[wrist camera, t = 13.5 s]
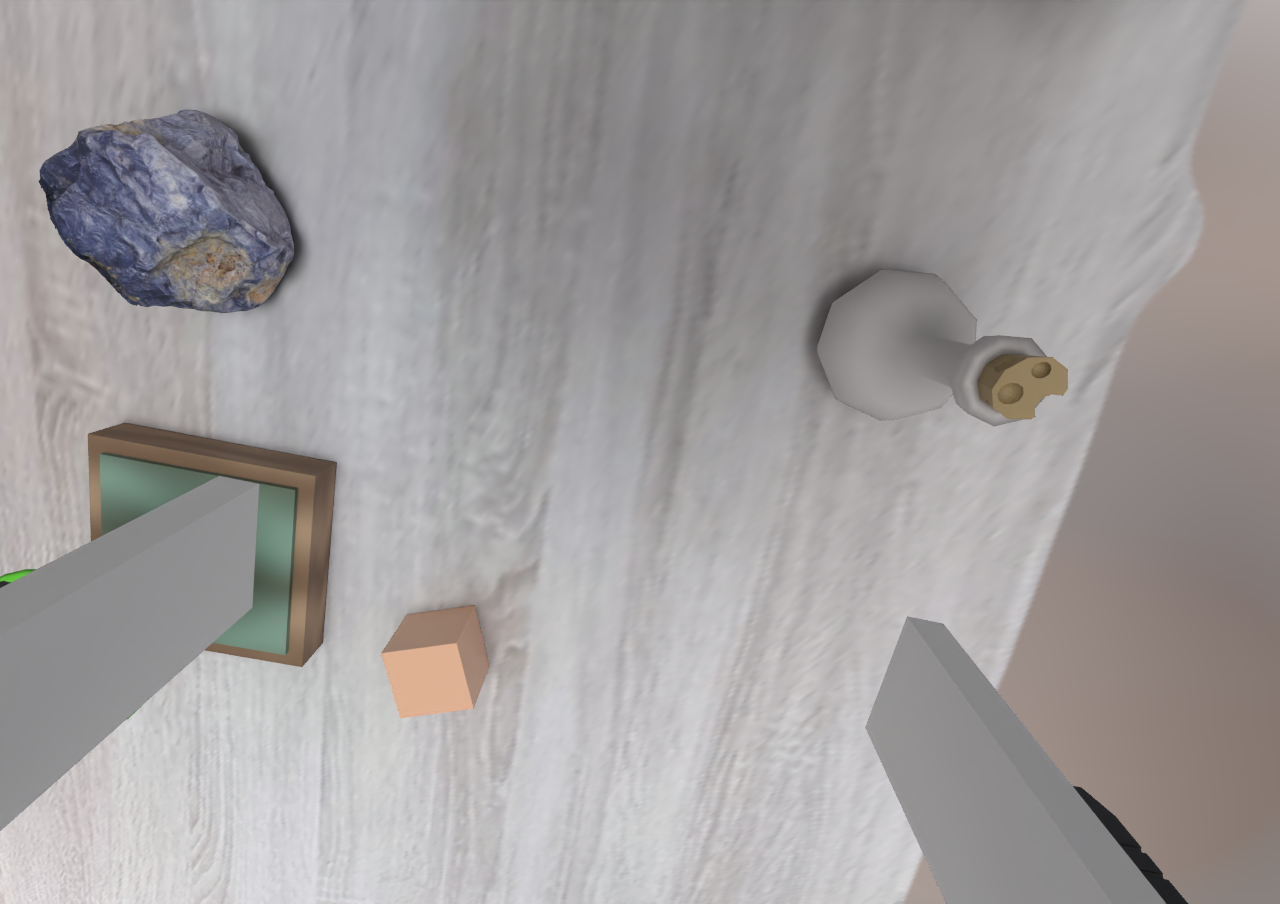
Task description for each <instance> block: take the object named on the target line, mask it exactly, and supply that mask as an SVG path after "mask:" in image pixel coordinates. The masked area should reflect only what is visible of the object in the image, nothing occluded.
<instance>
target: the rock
mask: <svg viewBox="0 0 1280 904" xmlns="http://www.w3.org/2000/svg"><path fill="white" fill-rule="evenodd" d="M39 183H40V185H41V188H43V190H44V192H45V193H46V198H47V206H48V210H49V214H50V219H51V220H52V222H53V224H54V225H55V229H57V230H58V233H59V235H60V236H61V238H62V240H63V241H64V243H65V244H66V245H67V246H68V247H69V248H70V249H71V250H72V252H73V253H74V254H75V255H76V256H78V257H79V258H80V259H82V260H85V261H86V262H88V263H90V264H91V265H92V266H93V267H94V268H96V269H97V270H98V271H99V272H100V274H101V275H102V276H104V277H105V278H106V280H107V281H108V282H110V284H111V285H112V286H113V287H114V288H115V290H116V291H117V292H118V293H120V294H121V296H122V297H123V298H125V299H126V300H127V301H128V302H129V303H130V304H132V305H136V306H137V305H140V306H144V307H149V306H155V305H156V306H163V307H165V306H174V307H178V308H188V309H196V310H200V311H212V312H220V313H229V312H236V311H247V310H250V309H253V308H256V307H259V306H260V305H262V304H263V303H264V302H266V301H267V300H268V299H269V298H270V296H271V295H272V293H273V292H274V290H275V287H276V286H277V285H278V284H279V282H280V281H281V279H282V278H283V276H284V274H285V271H286V269H287V267H288V265H289V263H290V262H291V261H292V260H293V257H294V243H293V239H292V236H291V228H290V224H289V220H288V218H287V216H286V214H285V211H284V209H283V208H282V206H281V204H280V203H279V201H278V200H277V198H276V197H275V195H274V191H273V190H271V189H270V188H268V187H267V186H266V184H265V182H264V181H263V179H262V176H261V174H260V172H259V170H258V168H257V167H256V166H255V165H254V163H252V160H251V158H250V155H249V153H246V152H244V150H243V149H242V147H241V146H240V144H239V142H238V135H237V134H236V133H235V132H234V131H233V130H232V129H231V128H228V127H226V126H225V125H224V124H223V123H222V122H221V121H219V120H217V119H216V118H214V117H212V116H210V115H208V114H206V113H204V112H200V111H195V110H181V111H180V112H179V113H178V114H173V115H169V116H165V117H161V118H155V119H144V120H135V121H131V122H124V123H122V124H119V125H112V124H108V125H101V126H96V127H92V128H88V129H85V130H82V131H80V132H78V136H77V138H76V140H75V141H74V142H73V144H72V145H71V146H70V147H68V148H67V149H65V150H63V151H60V152H58V153H56V154H55V155H53V156H52V157H51V158H49V159H48V160H46V161H45V162H44V163H43V165H42V167H41V169H40V180H39Z"/></svg>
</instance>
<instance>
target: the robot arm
mask: <svg viewBox="0 0 1280 904" xmlns="http://www.w3.org/2000/svg"><path fill="white" fill-rule="evenodd" d="M258 497H259V484H257V483H252V482H247V481H242V480H237V479H233V478H228V477H223V476H218V477H216V478H214V479H212V480H210V481H208V482H206V483H204V484H203V485H201V486H199V487H197V488H195V489H193V490H191V491H189V492H187V493H185V494H183V495H181V496H179V497H177V498H175V499H173V500H171V501H169V502H167V503H165V504H163V505H162V506H160V507H158V508H156V509H154V510H152V511H150V512H148V513H146V514H144V515H142V516H140V517H138V518H136V519H134V520H132V521H130V522H128V523H126V524H124V525H122V526H121V527H119V528H117V529H115V530H113V531H111V532H109V533H107V534H105V535H103V536H101V537H99V538H97V539H95V540H93V541H91V542H89V543H87V544H85V545H83V546H82V547H80V548H78V549H76V550H74V551H72V552H70V553H68V554H66V555H64V556H62V557H60V558H58V559H56V560H54V561H52V562H50V563H48V564H46V565H44V566H42V567H41V568H39V569H37V570H35V571H33V572H31V573H29V574H27V575H25V576H23V577H21V578H19V579H17V580H15V581H13V582H7V581H1V582H0V831H1V830H2V829H3V828H4V827H5V826H7V825H8V824H9V823H10V822H11V821H12V820H13V819H14V818H16V817H17V816H18V815H19V814H20V813H21V812H22V811H23V810H25V809H26V808H27V807H28V806H29V805H30V804H31V803H32V802H34V801H35V800H36V799H37V798H38V797H39V796H40V795H41V794H43V793H44V792H45V791H46V790H47V789H48V788H49V787H51V786H52V785H53V784H54V783H55V782H56V781H57V780H58V779H60V778H61V777H62V776H63V775H64V774H65V773H66V772H67V771H69V770H70V769H71V768H72V767H73V766H74V765H75V764H76V763H78V762H79V761H80V760H81V759H82V758H83V757H84V756H85V755H87V754H88V753H89V752H90V751H91V750H92V749H93V748H95V747H96V746H97V745H98V744H99V743H100V742H101V741H102V740H104V739H105V738H106V737H107V736H108V735H109V734H110V733H111V732H113V731H114V730H115V729H116V728H117V727H118V726H119V725H120V724H122V723H123V722H124V721H125V720H126V719H127V718H128V717H129V716H131V715H132V714H133V713H134V712H135V711H136V710H137V709H139V708H140V707H141V706H142V705H143V704H144V703H145V702H146V701H148V700H149V699H150V698H151V697H152V696H153V695H154V694H155V693H157V692H158V691H159V690H160V689H161V688H162V687H163V686H164V685H166V684H167V683H168V682H169V681H170V680H171V679H172V678H173V677H175V676H176V675H177V674H178V673H179V672H180V671H181V670H183V669H184V668H185V667H186V666H187V665H188V664H189V663H190V662H192V661H193V660H194V659H195V658H196V657H197V656H198V655H199V654H201V653H202V652H203V651H204V650H205V649H206V648H207V647H208V646H210V645H211V644H212V643H213V642H214V641H215V640H216V639H217V638H219V637H220V636H221V635H222V634H223V633H224V632H225V631H227V630H228V629H229V628H230V627H231V626H232V625H233V624H234V623H236V622H237V621H238V620H239V619H240V618H241V617H242V616H243V615H245V614H246V613H247V612H248V611H249V610H250V609H251V608H252V605H253V587H254V569H255V551H256V533H257V515H258ZM866 730H867V732H868V734H869V736H870V738H871V741H872V743H873V745H874V747H875V749H876V752H877V754H878V756H879V758H880V760H881V762H882V765H883V767H884V769H885V771H886V773H887V776H888V778H889V780H890V782H891V784H892V787H893V789H894V791H895V793H896V795H897V797H898V800H899V802H900V804H901V806H902V808H903V811H904V813H905V815H906V817H907V819H908V822H909V824H910V826H911V828H912V830H913V832H914V835H915V837H916V839H917V841H918V843H919V846H920V848H921V850H922V852H923V854H924V857H925V859H926V861H927V863H928V865H929V867H930V870H931V872H932V874H933V876H934V878H935V880H936V883H937V885H938V887H939V889H940V891H941V894H942V896H943V898H944V900H945V902H946V904H1188V903H1187V902H1186V901H1185V899H1184V898H1183V897H1182V896H1181V895H1180V893H1179V892H1178V891H1177V890H1176V889H1175V887H1174V886H1173V885H1172V884H1171V883H1170V881H1169V880H1165V879H1163V876H1162V875H1163V873H1162V872H1161V871H1160V869H1159V868H1158V867H1157V866H1156V865H1155V863H1154V862H1153V861H1152V860H1151V858H1150V857H1149V856H1148V855H1147V854H1146V853H1142V852H1141V846H1140V845H1139V844H1138V843H1137V842H1136V840H1135V839H1134V838H1133V837H1132V836H1131V834H1130V833H1129V832H1128V831H1127V830H1126V828H1125V827H1124V826H1123V825H1122V824H1121V822H1120V821H1119V820H1118V819H1117V818H1116V816H1114V815H1113V814H1112V813H1111V812H1110V811H1109V810H1107V809H1106V808H1105V807H1104V806H1103V805H1101V804H1100V803H1099V802H1098V801H1097V800H1095V799H1094V798H1093V797H1092V796H1091V795H1090V794H1088V793H1087V792H1086V791H1085V790H1084V789H1082V788H1080V787H1075V786H1072V785H1071V784H1070V782H1069V781H1068V780H1067V779H1066V777H1065V776H1064V775H1063V774H1062V772H1061V771H1060V770H1059V768H1058V767H1057V766H1056V765H1055V763H1054V762H1053V761H1052V760H1051V759H1050V757H1049V756H1048V755H1047V753H1046V752H1045V751H1044V750H1043V748H1042V747H1041V746H1040V745H1039V743H1038V742H1037V741H1036V740H1035V738H1034V737H1033V736H1032V735H1031V734H1030V732H1029V731H1028V730H1027V728H1026V727H1025V726H1024V725H1023V723H1022V722H1021V721H1020V720H1019V718H1018V717H1017V716H1016V714H1015V713H1014V712H1013V711H1012V709H1011V708H1010V707H1009V706H1008V704H1007V703H1006V702H1005V701H1004V700H1003V698H1002V697H1001V696H1000V694H999V693H998V692H997V691H996V689H995V688H994V687H993V686H992V684H991V683H990V682H989V681H988V679H987V678H986V677H985V676H984V674H983V673H982V672H981V671H980V669H979V668H978V667H977V666H976V664H975V663H974V662H973V661H972V659H971V658H970V657H969V656H968V654H967V653H966V652H965V650H964V649H963V648H962V647H961V645H960V644H959V643H958V642H957V640H956V639H955V638H954V637H953V635H952V634H951V633H950V632H949V630H948V629H947V628H946V627H945V625H944V624H942V623H937V622H932V621H927V620H922V619H917V618H912V617H908V616H907V618H906V621H905V624H904V626H903V629H902V632H901V634H900V637H899V640H898V642H897V645H896V648H895V650H894V653H893V656H892V658H891V661H890V664H889V666H888V669H887V672H886V674H885V677H884V680H883V682H882V685H881V688H880V690H879V693H878V696H877V698H876V701H875V703H874V706H873V709H872V711H871V714H870V717H869V719H868V722H867V725H866Z"/></svg>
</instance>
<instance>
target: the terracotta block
mask: <svg viewBox="0 0 1280 904" xmlns="http://www.w3.org/2000/svg"><path fill="white" fill-rule="evenodd" d="M381 654H382V658H383V661H384V664H385V668H386V671H387V675H388V678H389V681H390V685H391V688H392V692H393V695H394V698H395V702H396V705H397V708H398V712H399V715H400V718H406V717H413V716H421V715H429V714H436V713H444V712H452V711H459V710H467V709H474V706H475V703H476V701H477V698H478V695H479V693H480V690H481V687H482V685H483V682H484V679H485V677H486V674H487V671H488V669H489V666H490V665H489V661H488V657H487V653H486V649H485V644H484V640H483V636H482V632H481V628H480V624H479V620H478V616H477V612H476V608H475V605H473V606H466V607H458V608H451V609H444V610H437V611H429V612H422V613H415V614H407V615H406V617H405V618H404V620H403V621H402V623H401V624H400V626H399V627H398V629H397V630H396V632H395V633H394V635H393V636H392V638H391V639H390V641H389V642H388V644H387V645H386V647H385V648H384V650H383V651H382V653H381Z"/></svg>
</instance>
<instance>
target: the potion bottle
mask: <svg viewBox="0 0 1280 904" xmlns="http://www.w3.org/2000/svg"><path fill="white" fill-rule="evenodd" d="M976 323H977V319H976V318H975V317H974V316H973V314H972V313H971V312H970V311H969V310H968V308H967V307H966V306H965V305H964V304H963V303H962V301H961V300H960V299H959V298H958V297H957V295H956V294H955V293H954V292H953V291H952V290H951V288H950V287H949V286H948V285H947V284H946V283H945V282H944V281H943V280H942V279H940V278H939V277H938V276H937V275H936V274H928V273H917V272H906V271H896V270H885V269H881V270H880V271H878V272H877V273H876V274H874V275H873V276H871V277H870V278H868V279H867V280H865V281H864V282H862V283H861V284H859V285H858V286H856V287H855V288H853V289H852V290H850V291H849V292H847V293H846V294H844V295H843V296H842V297H840V298H839V299H837V300H836V301H834V302H833V303H832V305H831V308H830V311H829V313H828V316H827V319H826V322H825V325H824V328H823V331H822V334H821V337H820V340H819V343H818V346H817V353H818V355H819V358H820V361H821V363H822V366H823V368H824V371H825V373H826V376H827V378H828V381H829V384H830V386H831V389H832V391H833V394H834V396H835V399H836V400H838V401H840V402H843V403H845V404H847V405H849V406H851V407H853V408H855V409H857V410H859V411H861V412H863V413H866V414H868V415H870V416H872V417H874V418H876V419H878V420H895V419H899V418H903V417H907V416H911V415H915V414H919V413H923V412H927V411H931V410H935V409H939V408H941V407H942V406H943V405H944V404H945V403H946V402H947V400H948V399H949V398H950V397H951V396H952V394H953V395H954V398H955V401H956V404H957V405H959V406H960V407H961V408H962V409H963V410H964V411H965V412H967V413H968V414H970V415H972V416H974V417H976V418H978V419H980V420H982V421H984V422H986V423H988V424H990V425H992V426H998V425H1002V424H1006V423H1010V422H1014V421H1018V420H1022V419H1032V418H1034V417H1036V416H1035V408H1036V407H1037V405H1038V404H1039V403H1040V402H1041V401H1042V400H1043V399H1044V398H1045V397H1046V396H1049V395H1051V394H1054V395H1062V396H1063V395H1064V393H1065V392H1066V391H1067V389H1068V369H1067V368H1065V367H1064V366H1063V365H1061V364H1060V363H1059V362H1058V361H1056V360H1055V359H1054V358H1053V357H1047V356H1046V355H1045V354H1044V352H1043V351H1042V350H1041V349H1040V348H1039V346H1038V345H1037V344H1036V343H1035V342H1034V340H1033V339H1032V338H1021V337H1010V336H985V337H982V338H981V339H979V340H977V341H976Z"/></svg>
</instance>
